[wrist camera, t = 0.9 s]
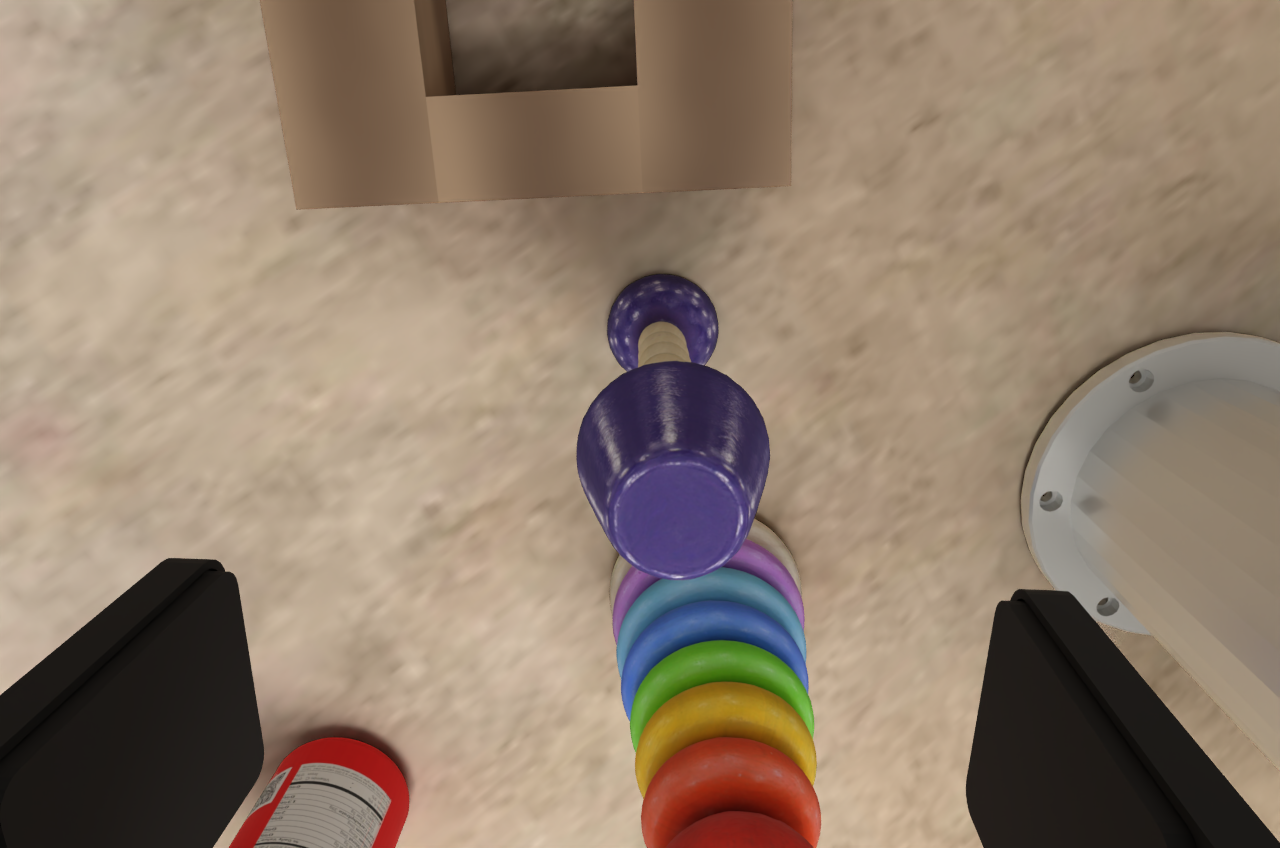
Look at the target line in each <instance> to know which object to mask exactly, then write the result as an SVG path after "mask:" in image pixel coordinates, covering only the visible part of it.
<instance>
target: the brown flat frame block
mask: <svg viewBox="0 0 1280 848" xmlns="http://www.w3.org/2000/svg"><path fill="white" fill-rule="evenodd" d="M260 4H261V10H262V16H263V21H264V27H265V33H266V39H267V44H268V50H269V56H270V61H271V67H272V73H273V78H274V84H275V90H276V96H277V101H278V107H279V113H280V118H281V124H282V130H283V135H284V141H285V147H286V152H287V158H288V164H289V170H290V175H291V181H292V187H293V192H294V198H295V204H296V209H318V208H339V207H360V206H381V205H402V204H423V203H444V202H465V201H486V200H507V199H528V198H549V197H570V196H591V195H612V194H633V193H654V192H675V191H696V190H717V189H738V188H759V187H780V186H791V122H792V5H793V0H634V19H635V41H636V62H637V84H638V85H636V86H618V87H599V88H581V89H562V90H544V91H525V92H507V93H489V94H470V95H456V90H455V81H454V72H453V63H452V54H451V45H450V36H449V27H448V18H447V9H446V0H260Z"/></svg>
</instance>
